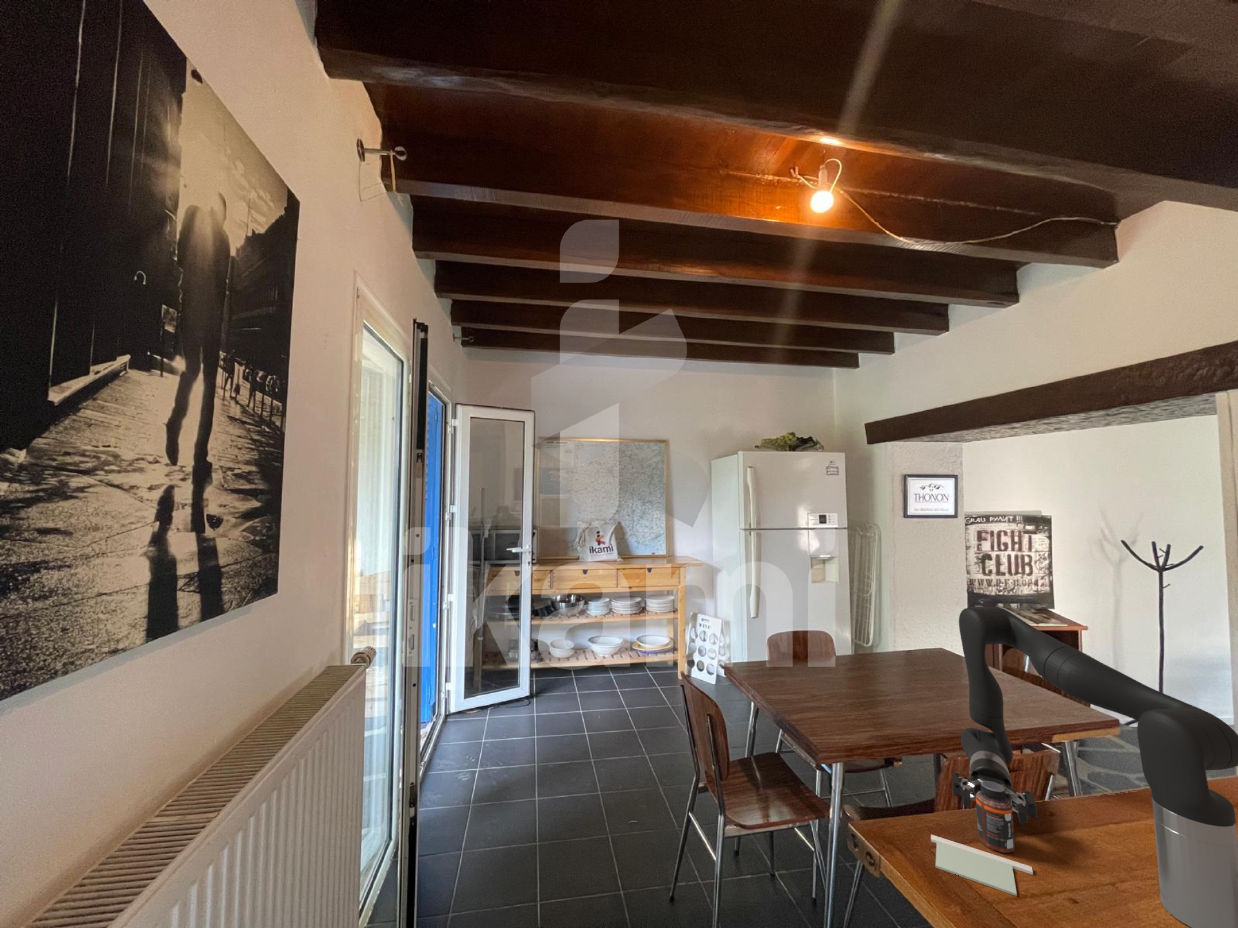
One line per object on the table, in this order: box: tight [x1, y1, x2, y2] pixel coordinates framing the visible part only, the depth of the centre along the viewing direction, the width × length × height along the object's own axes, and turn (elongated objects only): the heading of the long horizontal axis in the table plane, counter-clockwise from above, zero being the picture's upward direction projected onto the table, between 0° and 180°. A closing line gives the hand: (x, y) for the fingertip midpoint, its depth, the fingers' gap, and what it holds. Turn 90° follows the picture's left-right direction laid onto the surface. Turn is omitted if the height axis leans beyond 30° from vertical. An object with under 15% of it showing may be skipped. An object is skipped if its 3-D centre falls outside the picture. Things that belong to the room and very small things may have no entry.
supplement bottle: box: [975, 781, 1016, 854], centre depth 99 cm, size 6×6×11 cm
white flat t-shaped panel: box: [930, 834, 1034, 897], centre depth 92 cm, size 16×10×1 cm, turn 56°
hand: (994, 811), depth 99 cm, fingers open, 8 cm apart
